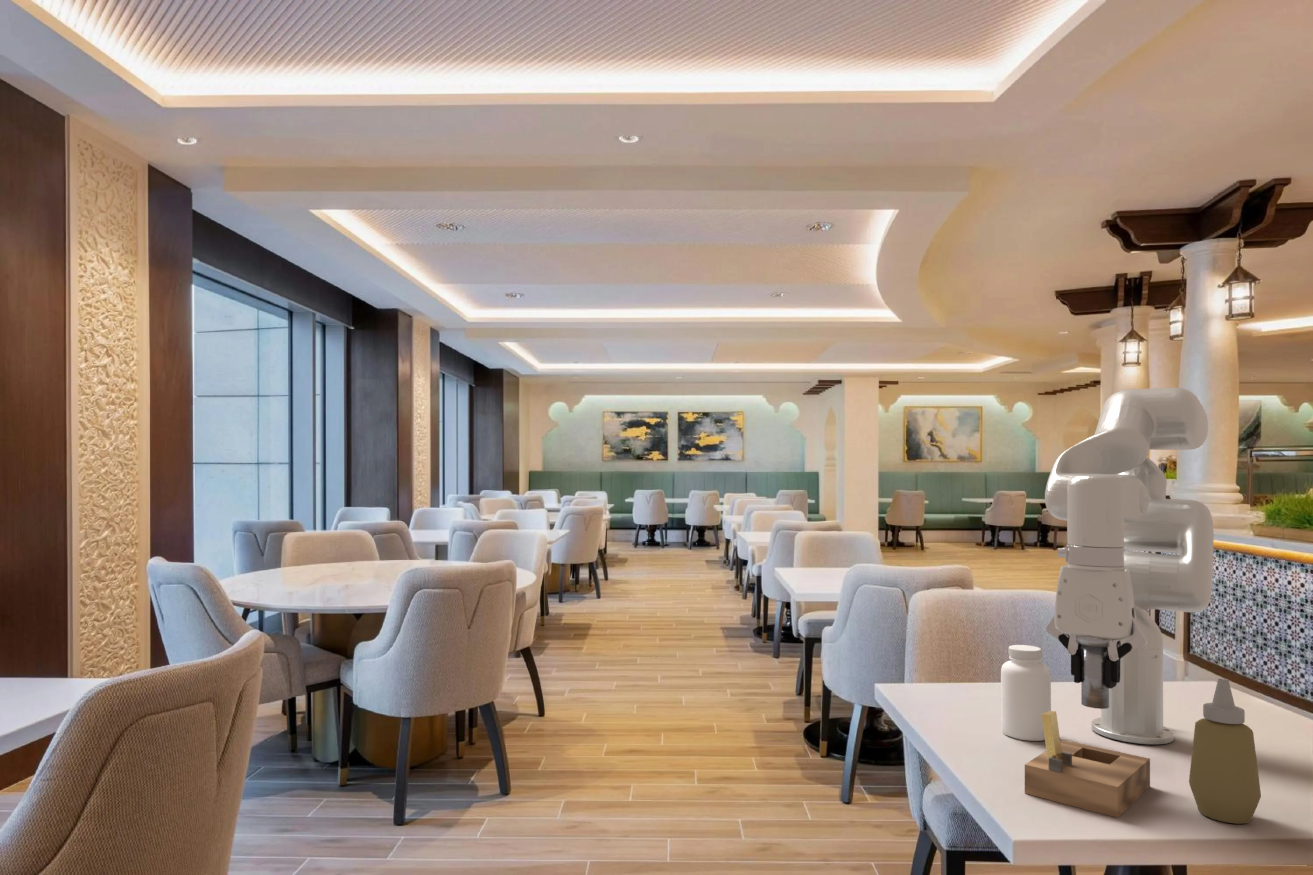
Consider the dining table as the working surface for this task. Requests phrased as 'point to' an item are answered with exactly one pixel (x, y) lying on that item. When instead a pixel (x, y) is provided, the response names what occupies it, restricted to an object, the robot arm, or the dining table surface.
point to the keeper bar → (1052, 735)
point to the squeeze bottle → (1224, 761)
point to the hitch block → (1089, 778)
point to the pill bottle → (1024, 693)
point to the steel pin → (1093, 671)
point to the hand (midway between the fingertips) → (1095, 682)
